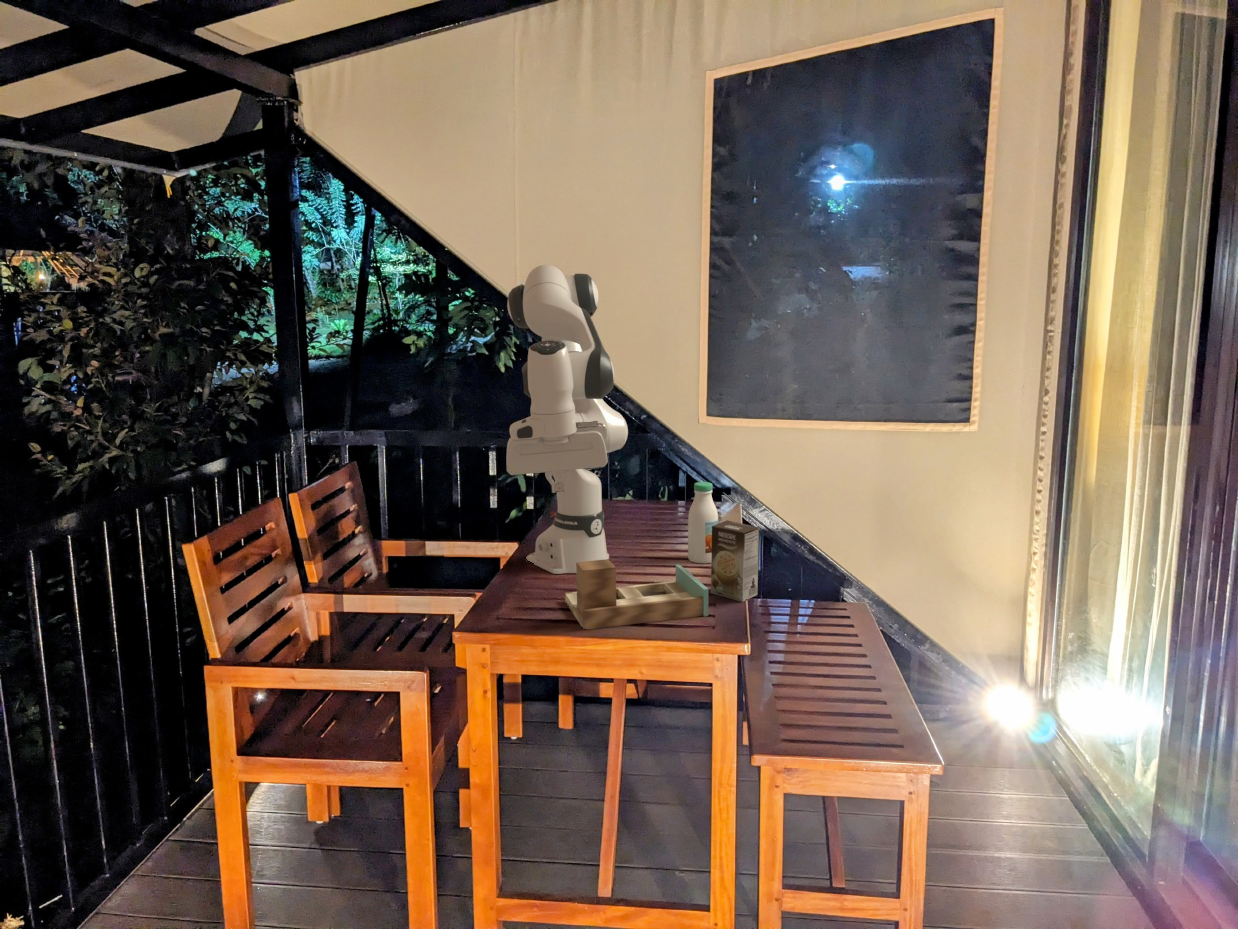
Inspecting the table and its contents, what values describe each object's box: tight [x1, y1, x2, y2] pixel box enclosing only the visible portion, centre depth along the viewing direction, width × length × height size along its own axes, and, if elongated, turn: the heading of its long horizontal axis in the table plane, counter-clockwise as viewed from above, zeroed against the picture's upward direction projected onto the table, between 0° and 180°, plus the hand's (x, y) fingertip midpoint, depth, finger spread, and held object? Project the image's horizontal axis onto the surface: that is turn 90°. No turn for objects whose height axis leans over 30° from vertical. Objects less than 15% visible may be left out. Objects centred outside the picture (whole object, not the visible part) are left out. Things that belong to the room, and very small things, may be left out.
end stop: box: [675, 564, 709, 617], centre depth 200 cm, size 1×18×6 cm, turn 16°
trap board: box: [564, 580, 704, 630], centre depth 197 cm, size 26×18×4 cm
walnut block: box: [575, 559, 617, 614], centre depth 190 cm, size 7×6×10 cm
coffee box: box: [710, 520, 760, 602], centre depth 204 cm, size 9×6×16 cm
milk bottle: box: [687, 481, 719, 564], centre depth 229 cm, size 8×8×20 cm
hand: (559, 491), depth 182 cm, fingers closed
